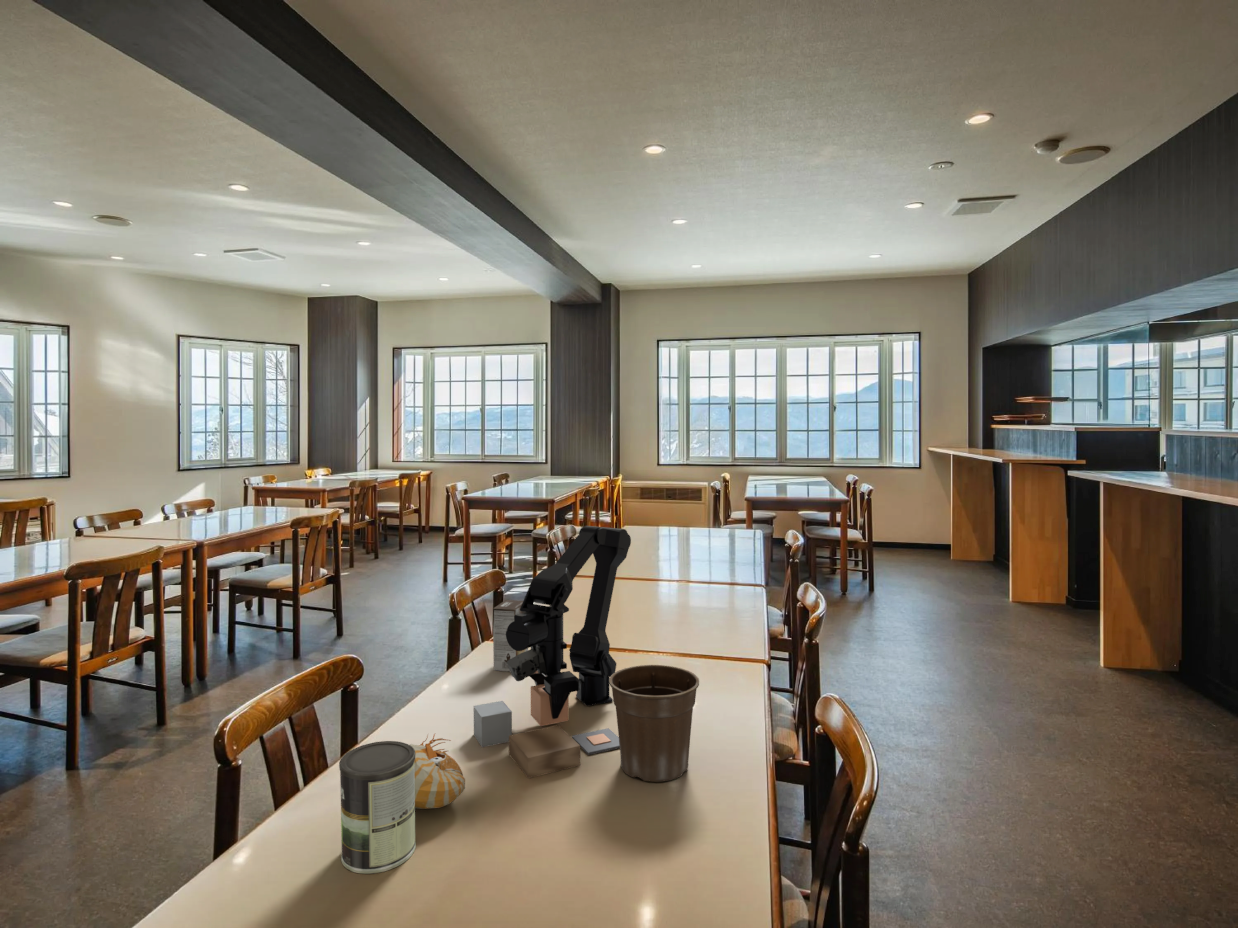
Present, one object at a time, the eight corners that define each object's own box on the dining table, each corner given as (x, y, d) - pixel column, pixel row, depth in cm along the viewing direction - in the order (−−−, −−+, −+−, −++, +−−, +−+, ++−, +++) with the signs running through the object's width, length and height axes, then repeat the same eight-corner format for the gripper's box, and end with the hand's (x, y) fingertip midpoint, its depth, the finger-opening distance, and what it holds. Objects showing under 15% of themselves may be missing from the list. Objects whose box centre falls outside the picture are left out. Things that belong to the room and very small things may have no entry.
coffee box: (505, 658, 184) (505, 599, 183) (528, 660, 183) (528, 600, 182) (492, 670, 175) (492, 607, 174) (516, 672, 174) (516, 609, 173)
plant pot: (595, 754, 130) (595, 670, 129) (672, 739, 136) (672, 659, 136) (631, 797, 115) (631, 701, 114) (715, 777, 121) (716, 687, 121)
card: (608, 730, 140) (608, 726, 140) (626, 746, 133) (626, 742, 133) (571, 737, 137) (571, 734, 137) (588, 755, 130) (588, 751, 130)
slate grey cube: (503, 729, 141) (502, 700, 141) (512, 741, 136) (511, 711, 135) (473, 735, 138) (473, 705, 138) (481, 747, 133) (481, 716, 133)
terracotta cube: (557, 709, 146) (557, 681, 146) (568, 720, 141) (568, 691, 140) (530, 714, 143) (530, 686, 143) (540, 725, 138) (540, 696, 138)
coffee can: (330, 876, 94) (328, 775, 94) (353, 832, 105) (351, 741, 104) (408, 872, 95) (406, 772, 95) (422, 829, 106) (421, 739, 105)
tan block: (558, 744, 135) (558, 724, 135) (580, 766, 126) (580, 745, 126) (509, 756, 130) (509, 735, 130) (528, 780, 121) (528, 757, 121)
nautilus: (412, 762, 128) (490, 771, 126) (354, 819, 107) (448, 831, 105) (414, 719, 128) (493, 727, 126) (358, 768, 107) (451, 779, 105)
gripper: (497, 630, 146) (498, 703, 147) (526, 656, 129) (526, 738, 130) (547, 623, 151) (547, 694, 152) (581, 648, 134) (581, 727, 135)
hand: (549, 712), depth 142 cm, fingers closed on terracotta cube, 6 cm apart
